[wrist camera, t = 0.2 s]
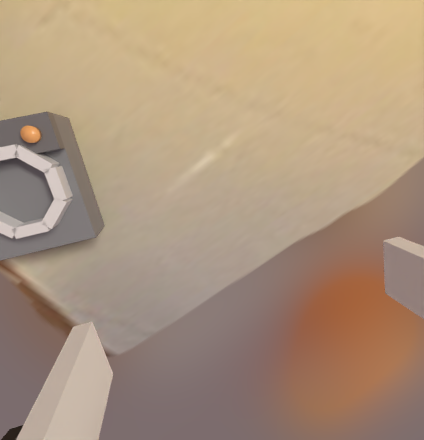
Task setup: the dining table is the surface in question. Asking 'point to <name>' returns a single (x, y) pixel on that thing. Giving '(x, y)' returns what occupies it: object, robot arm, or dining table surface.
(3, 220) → the camera body
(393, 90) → the dining table surface
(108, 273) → the dining table surface
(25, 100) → the dining table surface
